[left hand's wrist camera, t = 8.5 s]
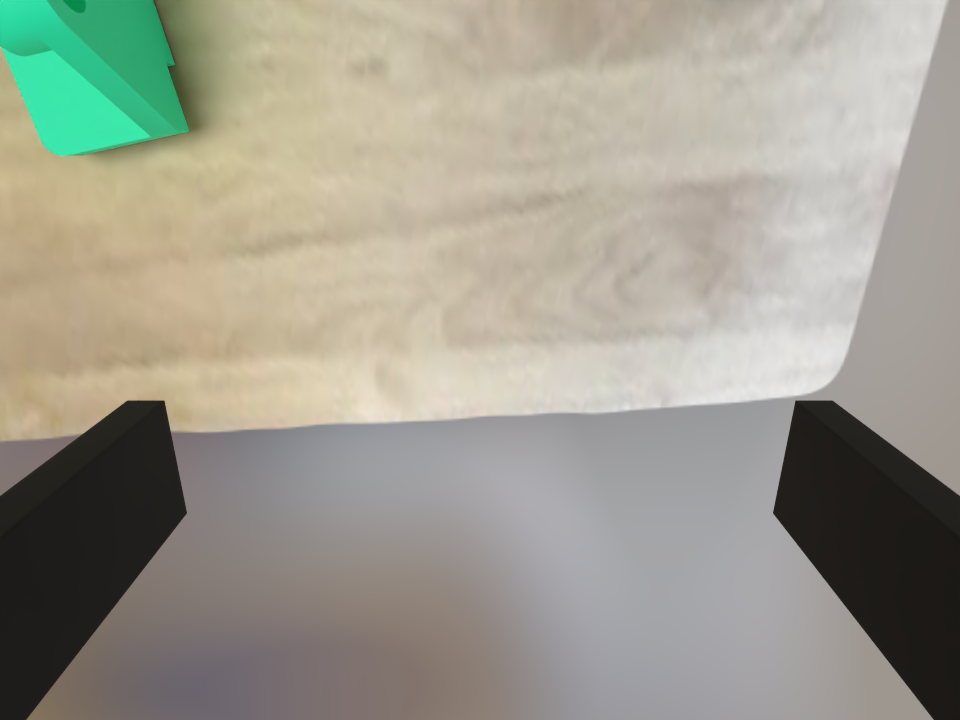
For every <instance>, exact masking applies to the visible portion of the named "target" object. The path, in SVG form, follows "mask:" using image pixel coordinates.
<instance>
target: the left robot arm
mask: <svg viewBox="0 0 960 720" xmlns="http://www.w3.org/2000/svg"><path fill="white" fill-rule="evenodd" d="M186 514H187V511H186V506H185V501H184V496H183V491H182V486H181V481H180V476H179V471H178V466H177V461H176V456H175V451H174V446H173V441H172V436H171V431H170V426H169V421H168V416H167V411H166V406H165V401H126V402H125V403H124V404H122V405H121V406H120V407H118V408H117V409H116V410H114V411H113V412H112V413H110V414H109V415H108V416H106V417H105V418H104V419H102V420H101V421H100V422H98V423H97V424H96V425H94V426H93V427H92V428H90V429H89V430H88V431H86V432H85V433H84V434H82V435H81V436H80V437H78V438H77V439H76V440H74V441H73V442H72V443H70V444H69V445H68V446H66V447H65V448H64V449H62V450H61V451H60V452H58V453H57V454H56V455H54V456H53V457H52V458H50V459H49V460H48V461H46V462H45V463H44V464H42V465H41V466H40V467H38V468H37V469H36V470H34V471H33V472H32V473H30V474H29V475H28V476H26V477H25V478H24V479H22V480H21V481H20V482H18V483H17V484H16V485H14V486H13V487H12V488H10V489H9V490H8V491H6V492H5V493H4V494H2V495H1V496H0V720H26V719H27V718H28V717H29V715H30V714H31V713H32V712H33V710H34V709H35V708H36V706H37V705H38V704H39V703H40V701H41V700H42V699H43V697H44V696H45V695H46V694H47V692H48V691H49V690H50V688H51V687H52V686H53V685H54V683H55V682H56V681H57V679H58V678H59V677H60V676H61V674H62V673H63V672H64V670H65V669H66V668H67V667H68V665H69V664H70V663H71V661H72V660H73V659H74V658H75V656H76V655H77V654H78V652H79V651H80V650H81V649H82V647H83V646H84V645H85V643H86V642H87V641H88V640H89V638H90V637H91V636H92V634H93V633H94V632H95V631H96V629H97V628H98V627H99V625H100V624H101V623H102V622H103V620H104V619H105V618H106V616H107V615H108V614H109V613H110V611H111V610H112V609H113V607H114V606H115V605H116V604H117V602H118V601H119V600H120V598H121V597H122V596H123V595H124V593H125V592H126V591H127V589H128V588H129V587H130V586H131V584H132V583H133V582H134V580H135V579H136V578H137V577H138V575H139V574H140V573H141V571H142V570H143V569H144V568H145V566H146V565H147V564H148V562H149V561H150V560H151V559H152V557H153V556H154V555H155V554H156V552H157V551H158V550H159V548H160V547H161V546H162V545H163V543H164V542H165V541H166V539H167V538H168V537H169V536H170V534H171V533H172V532H173V530H174V529H175V528H176V527H177V525H178V524H179V523H180V521H181V520H182V519H183V517H184V516H185V515H186ZM773 514H774V515H775V516H776V518H777V519H778V520H779V521H780V523H781V524H782V525H783V527H784V528H785V529H786V530H787V532H788V533H789V534H790V536H791V537H792V538H793V539H794V541H795V542H796V543H797V545H798V546H799V547H800V548H801V550H802V551H803V552H804V554H805V555H806V556H807V557H808V559H809V560H810V561H811V562H812V564H813V565H814V566H815V568H816V569H817V570H818V571H819V573H820V574H821V575H822V577H823V578H824V579H825V580H826V582H827V583H828V584H829V586H830V587H831V588H832V589H833V591H834V592H835V593H836V595H837V596H838V597H839V598H840V600H841V601H842V602H843V604H844V605H845V606H846V607H847V609H848V610H849V611H850V613H851V614H852V615H853V616H854V618H855V619H856V620H857V622H858V623H859V624H860V625H861V627H862V628H863V629H864V631H865V632H866V633H867V634H868V636H869V637H870V638H871V640H872V641H873V642H874V643H875V645H876V646H877V647H878V648H879V650H880V651H881V652H882V654H883V655H884V656H885V658H886V659H887V660H888V661H889V663H890V664H891V665H892V667H893V668H894V669H895V670H896V672H897V673H898V674H899V676H900V677H901V678H902V679H903V681H904V682H905V683H906V685H907V686H908V687H909V688H910V690H911V691H912V692H913V694H914V695H915V696H916V697H917V699H918V700H919V701H920V703H921V704H922V705H923V706H924V708H925V709H926V710H927V712H928V713H929V714H930V715H931V717H932V718H933V719H934V720H960V496H959V495H958V494H956V493H955V492H954V491H952V490H951V489H950V488H948V487H947V486H946V485H944V484H943V483H942V482H940V481H939V480H938V479H936V478H935V477H934V476H932V475H931V474H930V473H928V472H927V471H926V470H924V469H923V468H922V467H920V466H919V465H918V464H916V463H915V462H914V461H912V460H911V459H910V458H908V457H907V456H906V455H904V454H903V453H902V452H900V451H899V450H898V449H896V448H895V447H894V446H892V445H891V444H890V443H888V442H887V441H886V440H884V439H883V438H882V437H880V436H879V435H878V434H876V433H875V432H874V431H872V430H871V429H870V428H868V427H867V426H866V425H864V424H863V423H862V422H860V421H859V420H858V419H856V418H855V417H854V416H852V415H851V414H850V413H848V412H847V411H846V410H844V409H843V408H842V407H840V406H839V405H838V404H836V403H835V402H834V401H795V406H794V411H793V416H792V421H791V426H790V431H789V436H788V441H787V446H786V451H785V456H784V461H783V466H782V471H781V476H780V481H779V486H778V491H777V496H776V501H775V506H774V511H773Z"/></svg>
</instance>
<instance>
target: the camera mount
mask: <svg viewBox="0 0 960 720" xmlns="http://www.w3.org/2000/svg"><path fill="white" fill-rule="evenodd" d="M0 46H1V47H2V49H3V52H4V54H5V56H6V59H7V61H8V64H9V66H10V68H11V71H12V73H13V75H14V78H15V80H16V82H17V85H18V87H19V90H20V92H21V94H22V97H23V99H24V101H25V104H26V106H27V108H28V111H29V113H30V116H31V118H32V120H33V123H34V125H35V127H36V130H37V132H38V134H39V137H40V139H41V141H42V143H43V145H44V146H45V147H46V148H47V149H48V150H49V151H50V152H52V153H54V154H56V155H59V156H78V155H86V154H91V153H95V152H100V151H104V150H109V149H113V148H118V147H122V146H127V145H131V144H136V143H140V142H145V141H149V140H154V139H158V138H163V137H167V136H172V135H176V134H181V133H185V132H190V131H189V129H188V126H187V123H186V120H185V117H184V114H183V111H182V108H181V105H180V102H179V99H178V96H177V94H176V91H175V88H174V85H173V82H172V79H171V76H170V73H169V70H168V66H173V65H175V63H174V60H173V57H172V54H171V51H170V48H169V45H168V42H167V39H166V36H165V33H164V30H163V27H162V24H161V22H160V19H159V16H158V13H157V10H156V7H155V4H154V1H153V0H0Z"/></svg>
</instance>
